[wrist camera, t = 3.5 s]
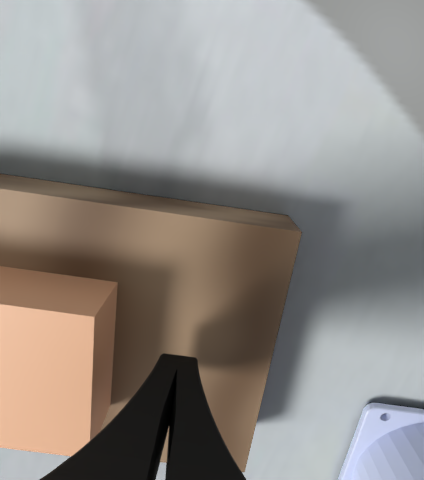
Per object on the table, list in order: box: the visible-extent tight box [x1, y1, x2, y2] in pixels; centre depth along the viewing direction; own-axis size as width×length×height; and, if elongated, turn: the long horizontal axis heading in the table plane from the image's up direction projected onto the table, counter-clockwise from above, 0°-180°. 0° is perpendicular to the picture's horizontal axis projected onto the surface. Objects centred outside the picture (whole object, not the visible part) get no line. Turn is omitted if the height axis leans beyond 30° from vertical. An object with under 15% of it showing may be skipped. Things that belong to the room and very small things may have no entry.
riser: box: [0, 174, 302, 472], centre depth 15 cm, size 14×12×2 cm
